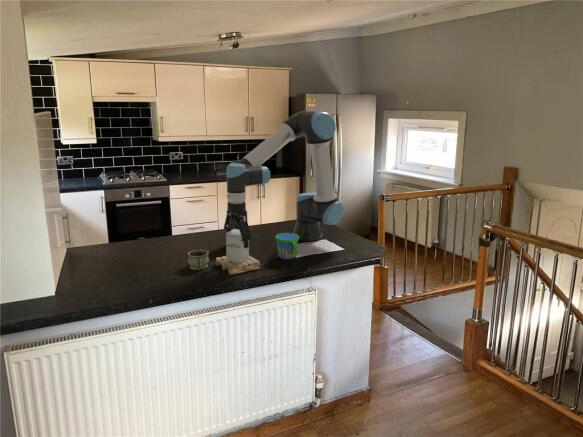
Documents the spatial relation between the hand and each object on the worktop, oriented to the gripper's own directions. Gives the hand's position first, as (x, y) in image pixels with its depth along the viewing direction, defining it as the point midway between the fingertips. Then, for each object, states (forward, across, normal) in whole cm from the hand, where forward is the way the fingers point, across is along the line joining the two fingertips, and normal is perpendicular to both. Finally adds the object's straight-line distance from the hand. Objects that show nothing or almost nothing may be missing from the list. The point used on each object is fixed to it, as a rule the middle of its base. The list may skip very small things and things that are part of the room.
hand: (237, 250), depth 197 cm
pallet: (+7, 0, 0) cm, 7 cm away
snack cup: (+7, +2, +24) cm, 25 cm away
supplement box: (+4, 0, 0) cm, 4 cm away
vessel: (+8, -9, -14) cm, 18 cm away
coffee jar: (+7, -26, +14) cm, 30 cm away
